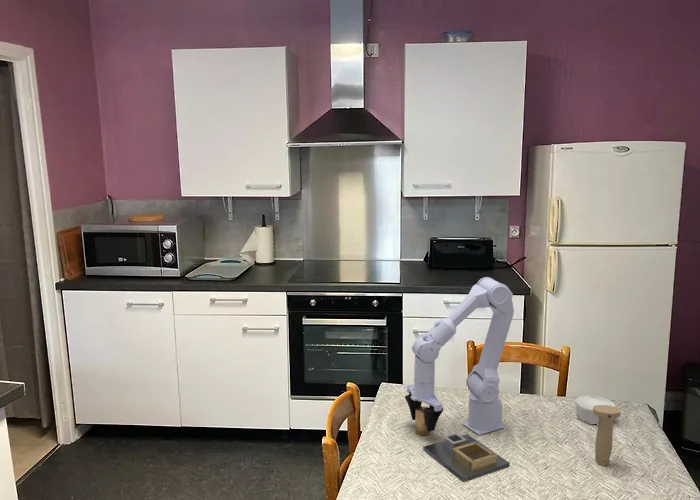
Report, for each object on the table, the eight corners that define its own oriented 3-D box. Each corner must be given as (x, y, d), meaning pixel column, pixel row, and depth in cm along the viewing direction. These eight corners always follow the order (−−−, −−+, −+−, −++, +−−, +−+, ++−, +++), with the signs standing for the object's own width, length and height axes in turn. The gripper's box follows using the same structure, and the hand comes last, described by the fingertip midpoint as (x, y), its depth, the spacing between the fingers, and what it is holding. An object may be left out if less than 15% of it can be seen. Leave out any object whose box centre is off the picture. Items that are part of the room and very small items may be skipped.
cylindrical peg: (424, 427, 167) (425, 405, 165) (433, 434, 163) (434, 411, 161) (412, 431, 165) (412, 408, 163) (420, 437, 161) (421, 414, 159)
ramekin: (617, 416, 174) (618, 400, 173) (611, 431, 165) (612, 414, 164) (578, 407, 180) (579, 392, 179) (570, 421, 171) (572, 405, 170)
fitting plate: (466, 437, 161) (467, 425, 160) (509, 466, 146) (510, 453, 146) (423, 449, 154) (423, 437, 154) (463, 481, 139) (463, 468, 139)
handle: (618, 469, 145) (623, 414, 142) (592, 467, 146) (596, 412, 143) (611, 458, 150) (616, 405, 147) (586, 457, 151) (590, 404, 148)
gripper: (398, 373, 165) (397, 417, 168) (427, 392, 153) (426, 439, 155) (418, 369, 169) (417, 412, 171) (448, 387, 156) (447, 433, 158)
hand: (423, 424), depth 163 cm, fingers open, 7 cm apart
